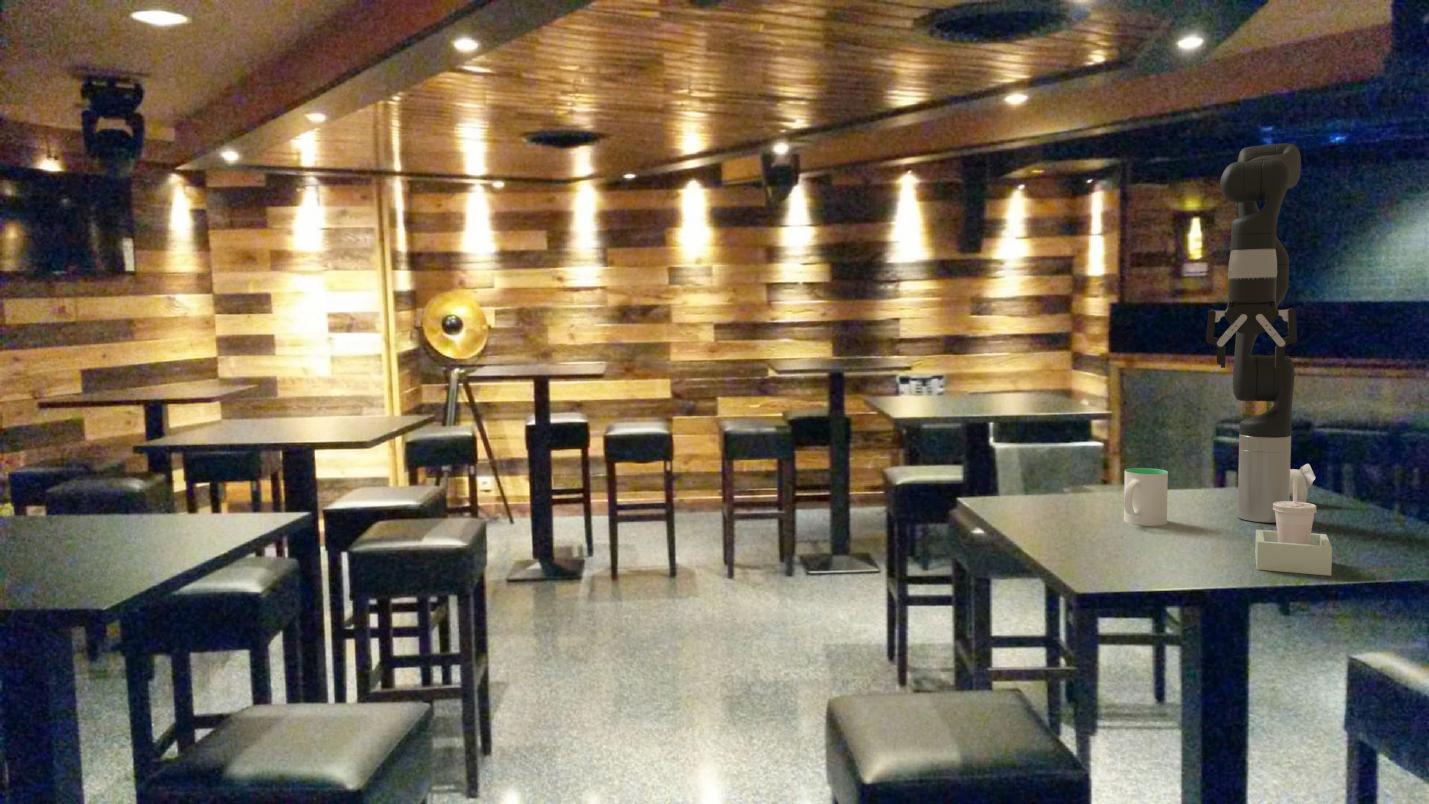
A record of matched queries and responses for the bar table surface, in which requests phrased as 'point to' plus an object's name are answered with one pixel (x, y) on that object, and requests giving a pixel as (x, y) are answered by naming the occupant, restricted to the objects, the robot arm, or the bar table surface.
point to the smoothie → (1294, 519)
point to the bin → (1293, 554)
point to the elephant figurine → (1301, 482)
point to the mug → (1145, 496)
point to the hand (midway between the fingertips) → (1249, 367)
